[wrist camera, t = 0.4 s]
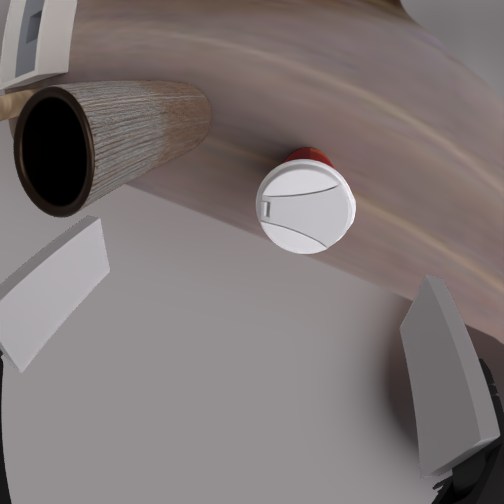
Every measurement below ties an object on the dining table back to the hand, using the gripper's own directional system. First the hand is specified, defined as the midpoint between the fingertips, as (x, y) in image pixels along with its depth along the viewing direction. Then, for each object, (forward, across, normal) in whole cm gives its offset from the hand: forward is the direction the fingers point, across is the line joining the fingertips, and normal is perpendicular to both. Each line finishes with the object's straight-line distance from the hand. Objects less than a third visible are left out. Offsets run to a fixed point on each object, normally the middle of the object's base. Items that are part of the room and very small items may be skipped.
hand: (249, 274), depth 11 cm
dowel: (+28, -41, +8) cm, 50 cm away
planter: (+28, -16, +3) cm, 32 cm away
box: (+28, -45, +23) cm, 57 cm away
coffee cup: (+28, +2, -3) cm, 28 cm away
